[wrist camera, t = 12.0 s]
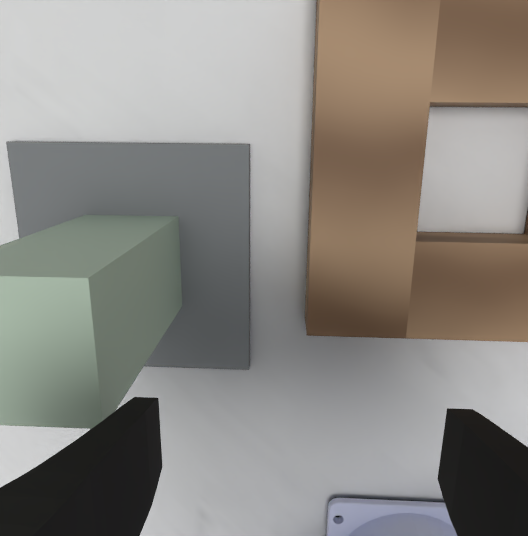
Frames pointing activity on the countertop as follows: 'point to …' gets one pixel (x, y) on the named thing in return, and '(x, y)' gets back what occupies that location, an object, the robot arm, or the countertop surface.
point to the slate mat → (159, 204)
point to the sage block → (83, 315)
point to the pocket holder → (407, 170)
